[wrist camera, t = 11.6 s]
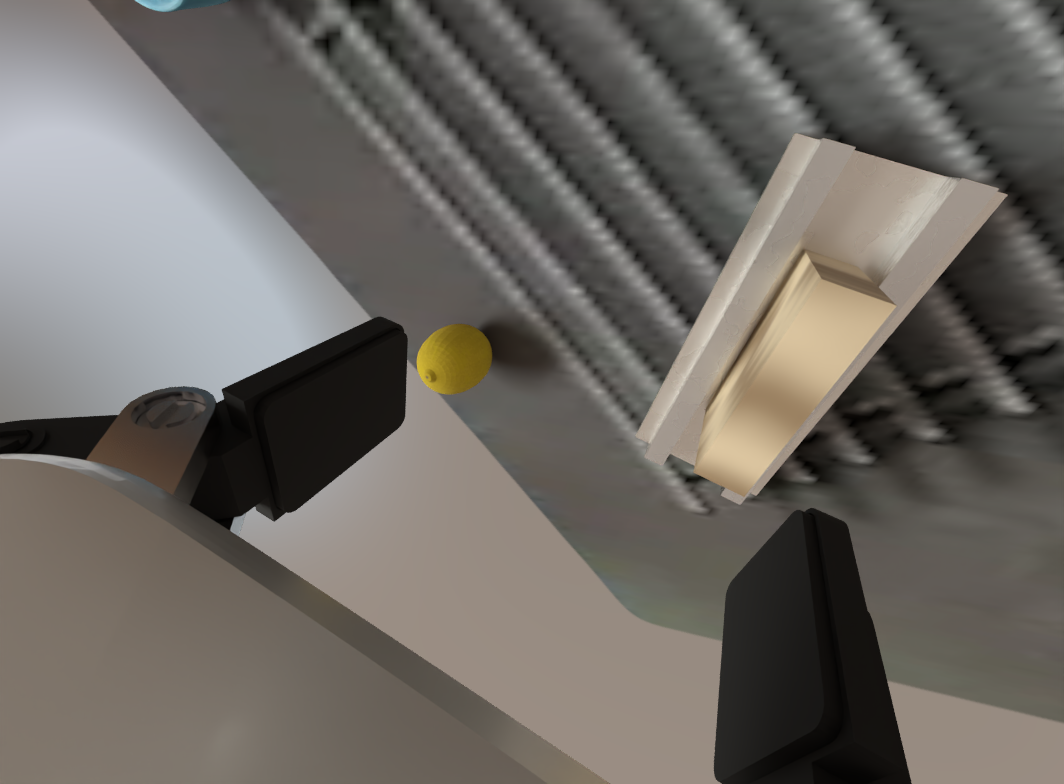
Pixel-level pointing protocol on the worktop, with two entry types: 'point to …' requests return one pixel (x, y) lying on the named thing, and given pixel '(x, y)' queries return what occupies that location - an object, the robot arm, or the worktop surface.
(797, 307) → the tan wooden block
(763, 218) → the bottom track
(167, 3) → the casserole dish
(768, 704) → the robot arm
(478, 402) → the worktop surface
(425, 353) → the lemon
